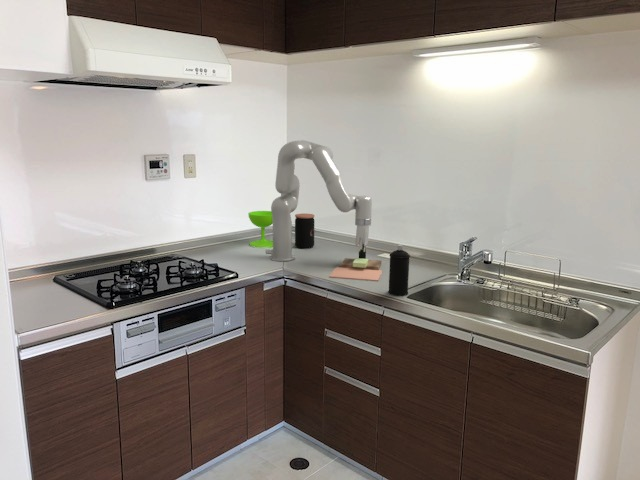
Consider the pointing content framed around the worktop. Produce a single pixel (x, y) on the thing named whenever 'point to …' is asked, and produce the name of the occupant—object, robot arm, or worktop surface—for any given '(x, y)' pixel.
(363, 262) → the sponge
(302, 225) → the coffee jar
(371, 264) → the plate
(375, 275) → the mat
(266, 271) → the worktop surface
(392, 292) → the aerosol can
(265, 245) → the wineglass
